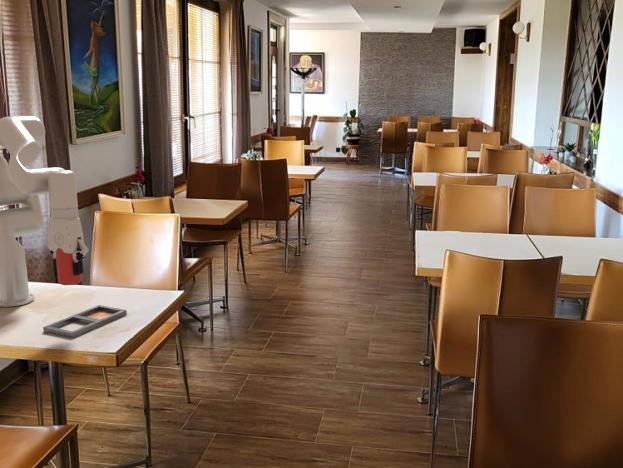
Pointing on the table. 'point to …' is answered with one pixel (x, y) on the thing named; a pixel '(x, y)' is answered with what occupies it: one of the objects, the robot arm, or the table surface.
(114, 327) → the table surface
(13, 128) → the robot arm
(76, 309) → the table surface
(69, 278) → the beer can
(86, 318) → the gray rectangular frame
